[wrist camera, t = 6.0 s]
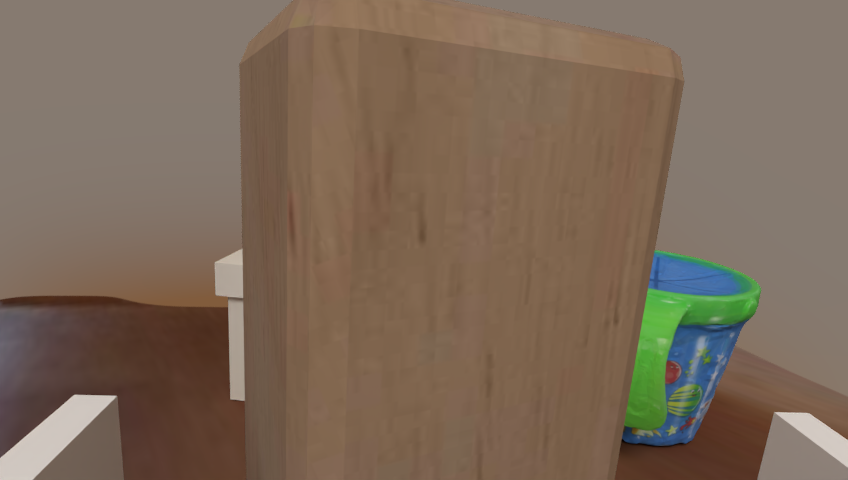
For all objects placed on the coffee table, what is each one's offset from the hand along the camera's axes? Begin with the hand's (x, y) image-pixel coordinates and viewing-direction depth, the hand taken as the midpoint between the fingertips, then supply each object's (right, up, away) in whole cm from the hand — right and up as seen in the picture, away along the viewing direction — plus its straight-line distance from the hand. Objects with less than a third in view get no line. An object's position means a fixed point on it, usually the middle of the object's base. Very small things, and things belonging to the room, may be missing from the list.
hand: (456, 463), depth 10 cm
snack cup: (+13, -7, +22) cm, 27 cm away
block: (-2, -9, +9) cm, 13 cm away
